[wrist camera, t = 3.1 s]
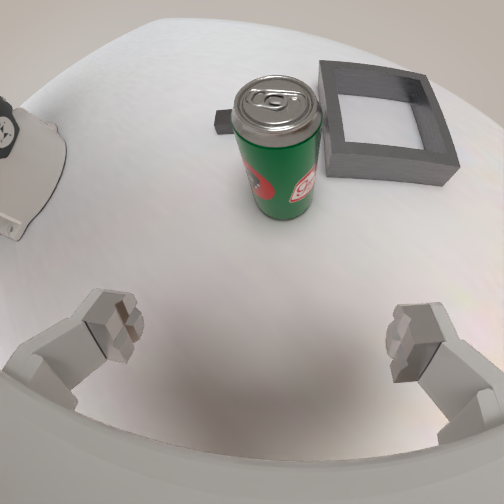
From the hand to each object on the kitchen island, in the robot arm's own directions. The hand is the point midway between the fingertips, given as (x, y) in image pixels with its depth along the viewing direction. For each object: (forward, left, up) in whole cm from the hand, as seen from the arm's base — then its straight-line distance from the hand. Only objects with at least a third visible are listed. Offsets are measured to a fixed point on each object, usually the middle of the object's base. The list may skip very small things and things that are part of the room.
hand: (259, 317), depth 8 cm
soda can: (0, +11, -15) cm, 18 cm away
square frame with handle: (+5, +19, -14) cm, 24 cm away
